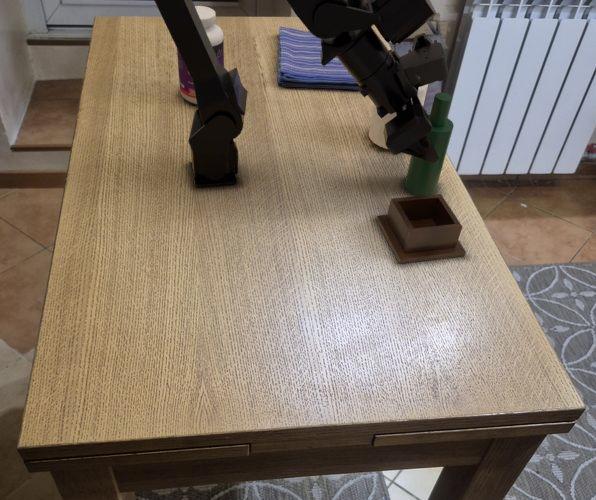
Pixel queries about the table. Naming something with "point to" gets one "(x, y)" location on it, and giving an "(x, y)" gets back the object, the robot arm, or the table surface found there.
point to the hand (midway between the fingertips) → (431, 143)
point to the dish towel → (308, 63)
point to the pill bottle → (217, 43)
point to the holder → (421, 229)
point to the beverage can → (387, 120)
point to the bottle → (425, 173)
